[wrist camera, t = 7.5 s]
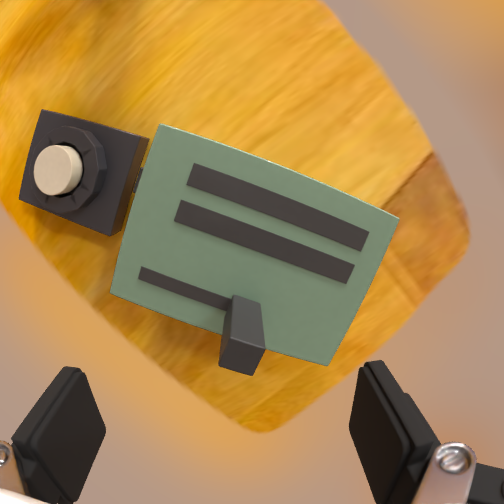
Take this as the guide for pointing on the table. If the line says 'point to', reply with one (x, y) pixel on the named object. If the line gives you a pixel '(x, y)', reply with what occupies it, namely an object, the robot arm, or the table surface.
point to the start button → (58, 170)
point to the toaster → (248, 244)
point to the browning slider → (242, 336)
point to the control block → (87, 171)
